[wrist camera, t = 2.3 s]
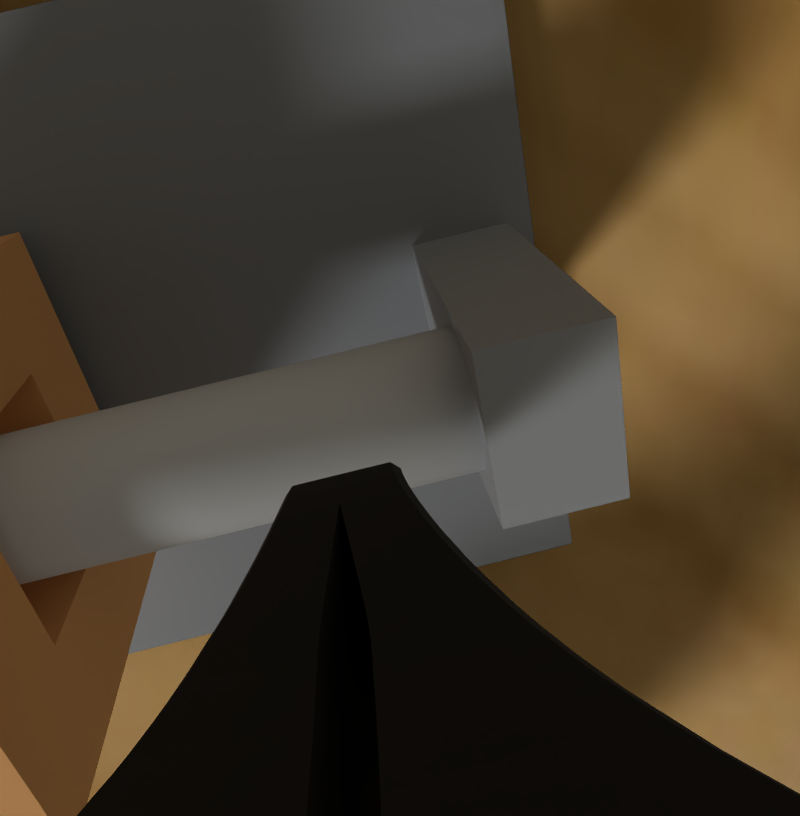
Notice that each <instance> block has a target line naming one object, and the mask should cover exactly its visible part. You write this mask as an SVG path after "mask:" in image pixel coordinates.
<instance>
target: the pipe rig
mask: <svg viewBox="0 0 800 816" xmlns="http://www.w3.org/2000/svg"><path fill="white" fill-rule="evenodd" d="M17 232H19V233H20V235H21V237H22V239H23V242H24V244H25V246H26V248H27V250H28V253H29V255H30V257H31V259H32V262H33V264H34V266H35V268H36V270H37V273H38V275H39V277H40V279H41V282H42V284H43V286H44V288H45V290H46V293H47V295H48V297H49V299H50V302H51V304H52V306H53V308H54V311H55V313H56V315H57V317H58V319H59V322H60V324H61V326H62V328H63V331H64V333H65V335H66V337H67V339H68V342H69V344H70V346H71V348H72V351H73V353H74V355H75V357H76V359H77V362H78V364H79V366H80V368H81V371H82V373H83V375H84V377H85V379H86V382H87V384H88V386H89V388H90V391H91V393H92V395H93V397H94V400H95V402H96V404H97V406H98V408H99V411H96V412H92V413H88V414H84V415H80V416H76V417H72V418H67V419H63V420H59V421H55V422H51V423H47V424H43V425H39V426H34V427H30V428H26V429H22V430H18V431H14V432H10V433H6V434H2V435H0V552H1V553H2V555H3V557H4V559H5V560H6V562H7V564H8V565H9V567H10V569H11V571H12V572H13V574H14V576H15V578H16V579H17V581H18V583H19V584H20V585H21V584H25V583H29V582H33V581H37V580H41V579H45V578H49V577H53V576H58V575H62V574H66V573H70V572H74V571H78V570H82V569H86V568H90V567H94V566H98V565H102V564H106V563H110V562H114V561H118V560H122V559H127V558H131V557H135V556H139V555H143V554H147V553H151V552H155V551H156V555H155V559H154V562H153V566H152V569H151V573H150V577H149V580H148V584H147V587H146V591H145V595H144V598H143V602H142V606H141V609H140V613H139V616H138V620H137V624H136V627H135V631H134V634H133V638H132V642H131V645H130V649H129V652H128V654H129V653H133V652H137V651H142V650H146V649H150V648H154V647H158V646H162V645H166V644H170V643H174V642H178V641H182V640H186V639H190V638H194V637H198V636H202V635H206V634H210V633H213V632H214V630H215V628H216V627H217V625H218V624H219V622H220V620H221V619H222V617H223V616H224V614H225V612H226V610H227V609H228V607H229V605H230V604H231V602H232V600H233V598H234V596H235V594H236V593H237V591H238V589H239V587H240V585H241V584H242V582H243V580H244V578H245V576H246V574H247V573H248V571H249V569H250V567H251V565H252V563H253V562H254V560H255V558H256V556H257V554H258V552H259V550H260V548H261V546H262V544H263V542H264V540H265V538H266V536H267V534H268V532H269V530H270V528H271V526H272V524H273V522H274V520H275V518H276V515H277V513H278V511H279V509H280V507H281V505H282V503H283V501H284V499H285V497H286V495H287V493H288V492H289V490H290V489H291V487H292V486H294V485H298V484H302V483H306V482H310V481H314V480H318V479H323V478H327V477H331V476H335V475H339V474H343V473H347V472H351V471H355V470H359V469H363V468H367V467H371V466H376V465H380V464H384V463H388V462H391V463H393V464H395V465H396V466H398V467H400V468H401V470H402V473H403V475H404V477H405V479H406V481H407V483H408V485H409V486H410V488H411V490H412V491H413V493H414V494H415V496H416V497H417V498H418V500H419V501H420V503H421V504H422V505H423V507H424V508H425V509H426V511H427V512H428V513H429V515H430V516H431V517H432V518H433V520H434V521H435V522H436V523H437V524H438V526H439V527H440V528H441V529H442V530H443V531H444V533H445V534H446V535H447V536H448V537H449V538H450V539H451V540H452V541H453V543H454V544H455V545H456V546H457V547H458V548H459V549H460V550H461V551H462V553H463V554H464V555H465V556H466V557H467V558H468V559H469V560H470V561H471V562H472V563H473V564H474V565H475V566H476V567H479V566H483V565H487V564H491V563H496V562H500V561H504V560H508V559H512V558H516V557H520V556H524V555H528V554H532V553H536V552H540V551H544V550H548V549H552V548H556V547H560V546H564V545H568V544H572V539H571V531H570V523H569V515H568V513H571V512H575V511H579V510H583V509H587V508H591V507H595V506H600V505H604V504H608V503H612V502H616V501H620V500H624V499H628V498H630V491H629V478H628V465H627V452H626V439H625V426H624V413H623V400H622V387H621V374H620V361H619V348H618V335H617V322H616V316H615V315H614V314H613V313H612V312H610V311H609V310H608V309H607V308H606V307H605V306H603V305H602V304H601V303H600V302H599V301H598V300H596V299H595V298H594V297H593V296H592V295H591V294H590V293H588V292H587V291H586V290H585V289H584V288H583V287H581V286H580V285H579V284H578V283H577V282H576V281H574V280H573V279H572V278H571V277H570V276H569V275H568V274H566V273H565V272H564V271H563V270H562V269H561V268H559V267H558V266H557V265H556V264H555V263H554V262H552V261H551V260H550V259H549V258H548V257H547V256H545V255H544V254H543V253H542V252H541V251H540V250H539V249H537V248H536V247H535V244H534V236H533V228H532V220H531V212H530V204H529V196H528V188H527V180H526V172H525V164H524V156H523V148H522V140H521V132H520V125H519V117H518V109H517V101H516V93H515V85H514V77H513V69H512V61H511V53H510V45H509V37H508V29H507V21H506V13H505V5H504V0H53V1H49V2H44V3H40V4H36V5H32V6H27V7H23V8H19V9H14V10H10V11H6V12H2V13H0V236H4V235H8V234H13V233H17Z"/></svg>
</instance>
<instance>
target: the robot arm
mask: <svg viewBox="0 0 800 816" xmlns="http://www.w3.org/2000/svg"><path fill="white" fill-rule="evenodd" d="M77 816H800V794H799V793H797V792H795V791H794V790H792V789H790V788H788V787H787V786H785V785H783V784H781V783H779V782H778V781H776V780H774V779H772V778H771V777H769V776H767V775H765V774H763V773H762V772H760V771H758V770H756V769H755V768H753V767H751V766H749V765H747V764H746V763H744V762H742V761H740V760H739V759H737V758H735V757H733V756H731V755H730V754H728V753H726V752H724V751H723V750H721V749H719V748H718V747H716V746H715V745H713V744H711V743H710V742H708V741H707V740H705V739H704V738H702V737H700V736H699V735H697V734H696V733H694V732H692V731H691V730H689V729H688V728H686V727H685V726H683V725H681V724H680V723H678V722H677V721H675V720H673V719H672V718H670V717H669V716H667V715H666V714H664V713H662V712H661V711H659V710H658V709H656V708H655V707H653V706H651V705H650V704H648V703H647V702H645V701H643V700H642V699H640V698H639V697H637V696H636V695H634V694H632V693H631V692H629V691H628V690H626V689H625V688H623V687H622V686H620V685H619V684H617V683H616V682H614V681H613V680H612V679H610V678H609V677H608V676H606V675H605V674H603V673H602V672H601V671H599V670H598V669H597V668H595V667H594V666H592V665H591V664H590V663H588V662H587V661H586V660H584V659H583V658H581V657H580V656H579V655H577V654H576V653H575V652H573V651H572V650H571V649H569V648H568V647H567V646H566V645H564V644H563V643H562V642H561V641H559V640H558V639H557V638H555V637H554V636H553V635H552V634H550V633H549V632H548V631H547V630H545V629H544V628H543V627H542V626H540V625H539V624H538V623H537V622H536V621H534V620H533V619H532V618H531V617H530V616H529V615H527V614H526V613H525V612H524V611H523V610H522V609H520V608H519V607H518V606H517V605H516V604H515V603H514V602H513V601H511V600H510V599H509V598H508V597H507V596H506V595H505V594H504V593H503V592H502V591H501V590H500V589H499V588H498V587H496V586H495V585H494V584H493V583H492V582H491V581H490V580H489V579H488V578H487V577H486V576H485V575H484V574H483V573H482V572H481V571H480V570H479V569H478V568H477V567H476V566H475V565H474V564H473V563H472V562H471V561H470V560H469V559H468V558H467V557H466V556H465V555H464V554H463V553H462V551H461V550H460V549H459V548H458V547H457V546H456V545H455V544H454V543H453V541H452V540H451V539H450V538H449V537H448V536H447V535H446V534H445V533H444V531H443V530H442V529H441V528H440V527H439V526H438V524H437V523H436V522H435V521H434V520H433V518H432V517H431V516H430V515H429V513H428V512H427V511H426V509H425V508H424V507H423V505H422V504H421V503H420V501H419V500H418V498H417V497H416V496H415V494H414V493H413V491H412V490H411V488H410V486H409V485H408V483H407V481H406V479H405V477H404V475H403V473H402V470H401V468H400V467H398V466H396V465H395V464H393V463H391V462H388V463H384V464H380V465H376V466H371V467H367V468H363V469H359V470H355V471H351V472H347V473H343V474H339V475H335V476H331V477H327V478H323V479H318V480H314V481H310V482H306V483H302V484H298V485H294V486H292V487H291V489H290V490H289V492H288V493H287V495H286V497H285V499H284V501H283V503H282V505H281V507H280V509H279V511H278V513H277V515H276V518H275V520H274V522H273V524H272V526H271V528H270V530H269V532H268V534H267V536H266V538H265V540H264V542H263V544H262V546H261V548H260V550H259V552H258V554H257V556H256V558H255V560H254V562H253V563H252V565H251V567H250V569H249V571H248V573H247V574H246V576H245V578H244V580H243V582H242V584H241V585H240V587H239V589H238V591H237V593H236V594H235V596H234V598H233V600H232V602H231V604H230V605H229V607H228V609H227V610H226V612H225V614H224V616H223V617H222V619H221V620H220V622H219V624H218V625H217V627H216V628H215V630H214V632H213V633H212V635H211V636H210V638H209V640H208V641H207V643H206V644H205V646H204V648H203V649H202V651H201V652H200V654H199V656H198V657H197V659H196V660H195V662H194V664H193V665H192V667H191V668H190V670H189V671H188V673H187V674H186V676H185V677H184V679H183V680H182V682H181V683H180V685H179V686H178V688H177V689H176V691H175V692H174V694H173V695H172V696H171V698H170V699H169V701H168V702H167V704H166V705H165V706H164V708H163V709H162V711H161V712H160V713H159V715H158V716H157V718H156V719H155V720H154V722H153V723H152V724H151V726H150V727H149V728H148V730H147V731H146V732H145V734H144V735H143V736H142V737H141V739H140V740H139V741H138V743H137V744H136V745H135V747H134V748H133V749H132V751H131V752H130V753H129V754H128V756H127V757H126V758H125V759H124V761H123V762H122V763H121V764H120V766H119V767H118V768H117V769H116V771H115V772H114V773H113V774H112V775H111V777H110V778H109V779H108V780H107V781H106V782H105V784H104V785H103V786H102V787H101V788H100V789H99V790H98V792H97V793H96V794H95V795H94V796H93V797H92V799H91V800H90V801H89V802H88V803H87V804H86V805H85V807H84V808H83V809H82V810H81V811H80V812H79V814H78V815H77Z"/></svg>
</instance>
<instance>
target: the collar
mask: <svg viewBox="0 0 800 816" xmlns="http://www.w3.org/2000/svg"><path fill="white" fill-rule="evenodd" d="M96 411H99V408H98V406H97V404H96V402H95V400H94V397H93V395H92V393H91V391H90V388H89V386H88V384H87V382H86V379H85V377H84V375H83V373H82V371H81V368H80V366H79V364H78V362H77V359H76V357H75V355H74V353H73V351H72V348H71V346H70V344H69V342H68V339H67V337H66V335H65V333H64V331H63V328H62V326H61V324H60V322H59V319H58V317H57V315H56V313H55V311H54V308H53V306H52V304H51V302H50V299H49V297H48V295H47V293H46V290H45V288H44V286H43V284H42V282H41V279H40V277H39V275H38V273H37V270H36V268H35V266H34V264H33V262H32V259H31V257H30V255H29V253H28V250H27V248H26V246H25V244H24V242H23V239H22V237H21V235H20V233H19V232H17V233H13V234H8V235H4V236H0V435H2V434H6V433H10V432H14V431H18V430H22V429H26V428H30V427H34V426H39V425H43V424H47V423H51V422H55V421H59V420H63V419H67V418H72V417H76V416H80V415H84V414H88V413H92V412H96ZM155 555H156V551H155V552H151V553H147V554H143V555H139V556H135V557H131V558H127V559H122V560H118V561H114V562H110V563H106V564H102V565H98V566H94V567H90V568H86V569H82V570H78V571H74V572H70V573H66V574H62V575H58V576H53V577H49V578H45V579H41V580H37V581H33V582H29V583H25V584H21V585H20V584H19V583H18V581H17V579H16V578H15V576H14V574H13V572H12V571H11V569H10V567H9V565H8V564H7V562H6V560H5V559H4V557H3V555H2V553H1V552H0V816H77V815H78V814H79V812H80V811H81V810H82V809H83V808H84V807H85V805H86V804H87V801H88V797H89V793H90V790H91V786H92V783H93V779H94V775H95V772H96V768H97V764H98V761H99V757H100V754H101V750H102V746H103V743H104V739H105V736H106V732H107V728H108V725H109V721H110V718H111V714H112V710H113V707H114V703H115V699H116V696H117V692H118V689H119V685H120V681H121V678H122V674H123V671H124V667H125V663H126V660H127V656H128V652H129V649H130V645H131V642H132V638H133V634H134V631H135V627H136V624H137V620H138V616H139V613H140V609H141V606H142V602H143V598H144V595H145V591H146V587H147V584H148V580H149V577H150V573H151V569H152V566H153V562H154V559H155Z"/></svg>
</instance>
